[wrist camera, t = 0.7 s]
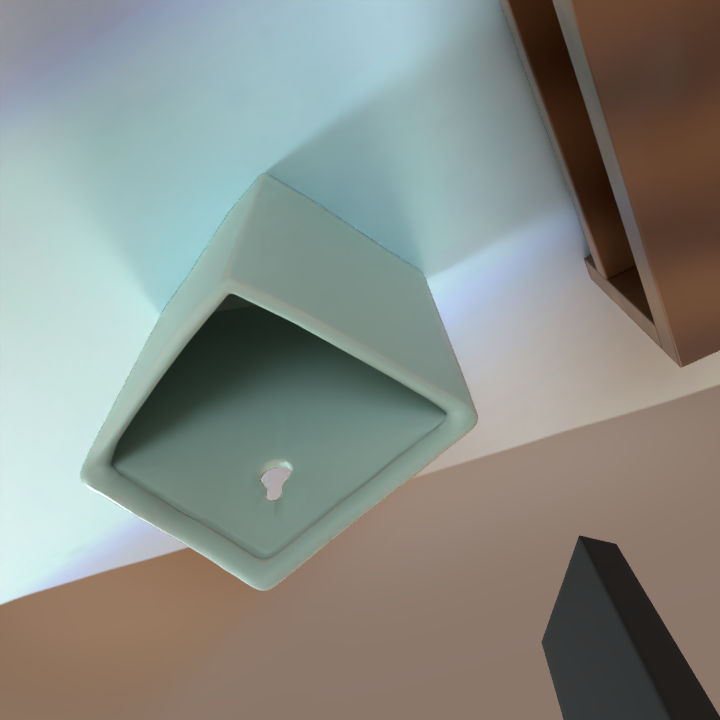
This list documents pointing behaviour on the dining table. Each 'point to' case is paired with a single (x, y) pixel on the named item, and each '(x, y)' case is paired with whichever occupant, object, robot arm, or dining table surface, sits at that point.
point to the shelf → (637, 150)
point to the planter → (281, 390)
